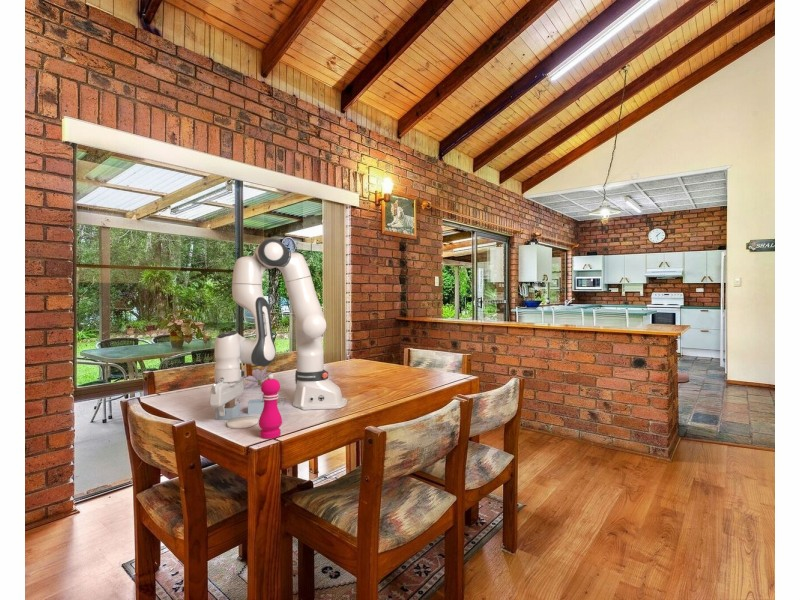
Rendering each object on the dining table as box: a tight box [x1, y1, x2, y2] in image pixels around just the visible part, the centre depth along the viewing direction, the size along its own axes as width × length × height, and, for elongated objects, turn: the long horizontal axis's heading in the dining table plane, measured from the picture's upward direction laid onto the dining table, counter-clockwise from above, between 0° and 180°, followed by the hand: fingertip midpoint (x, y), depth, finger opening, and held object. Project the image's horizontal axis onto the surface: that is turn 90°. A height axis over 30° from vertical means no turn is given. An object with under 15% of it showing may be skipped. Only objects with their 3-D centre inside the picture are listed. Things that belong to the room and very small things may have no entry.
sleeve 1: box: [215, 403, 241, 421], centre depth 152 cm, size 6×6×4 cm
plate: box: [226, 415, 259, 430], centre depth 144 cm, size 10×10×1 cm
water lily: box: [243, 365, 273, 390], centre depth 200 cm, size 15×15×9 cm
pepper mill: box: [258, 373, 283, 440], centre depth 132 cm, size 7×7×20 cm
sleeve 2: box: [247, 398, 264, 415], centre depth 160 cm, size 6×6×4 cm
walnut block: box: [224, 399, 235, 408], centre depth 152 cm, size 4×4×6 cm
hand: (227, 412), depth 152 cm, fingers closed on sleeve 1, 6 cm apart
